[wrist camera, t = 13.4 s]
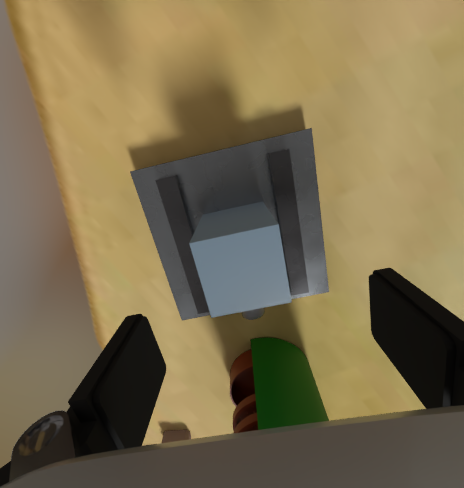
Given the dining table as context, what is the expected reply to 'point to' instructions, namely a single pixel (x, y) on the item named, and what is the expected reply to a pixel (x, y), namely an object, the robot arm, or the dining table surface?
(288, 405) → the motor
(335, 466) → the robot arm
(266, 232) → the slate grey block
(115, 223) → the dining table surface
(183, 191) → the mounting bracket
